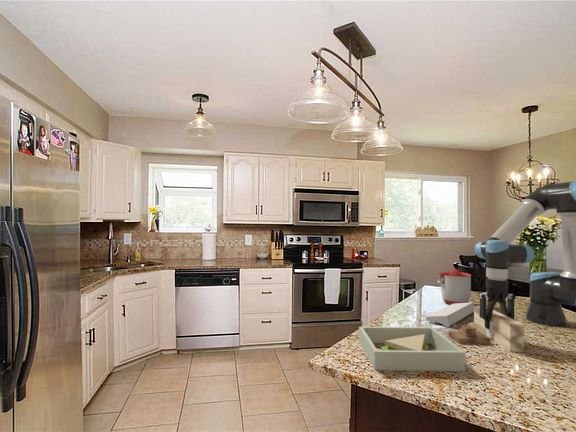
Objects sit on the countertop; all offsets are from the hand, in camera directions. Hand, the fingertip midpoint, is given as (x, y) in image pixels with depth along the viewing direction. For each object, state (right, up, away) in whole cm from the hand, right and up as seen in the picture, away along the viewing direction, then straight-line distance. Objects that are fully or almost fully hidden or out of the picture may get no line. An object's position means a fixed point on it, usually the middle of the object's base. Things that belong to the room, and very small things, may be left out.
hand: (496, 336), depth 127 cm
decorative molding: (-7, -1, +32) cm, 33 cm away
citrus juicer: (+11, -2, +54) cm, 55 cm away
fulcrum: (-12, -1, -1) cm, 12 cm away
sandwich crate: (-42, -1, -15) cm, 45 cm away
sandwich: (-39, -1, -15) cm, 41 cm away
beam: (0, -1, 0) cm, 1 cm away
